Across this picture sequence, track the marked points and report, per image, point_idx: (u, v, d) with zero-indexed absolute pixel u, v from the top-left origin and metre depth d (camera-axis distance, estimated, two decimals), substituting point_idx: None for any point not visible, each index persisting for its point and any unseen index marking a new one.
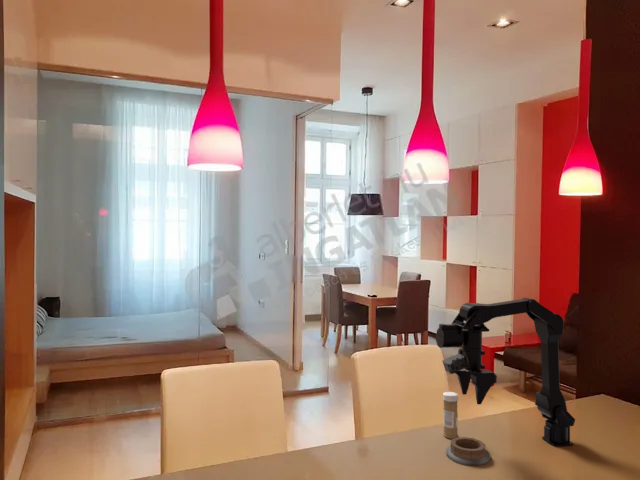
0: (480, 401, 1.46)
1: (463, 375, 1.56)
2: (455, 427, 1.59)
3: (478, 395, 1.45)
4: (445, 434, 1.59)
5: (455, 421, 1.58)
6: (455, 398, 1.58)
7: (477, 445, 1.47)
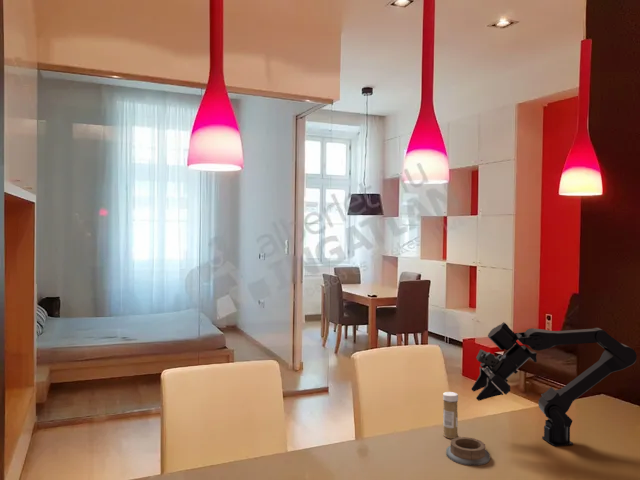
0: (480, 398, 1.54)
1: (485, 377, 1.64)
2: (455, 427, 1.59)
3: (483, 392, 1.53)
4: (445, 434, 1.59)
5: (455, 421, 1.58)
6: (455, 398, 1.58)
7: (477, 445, 1.47)
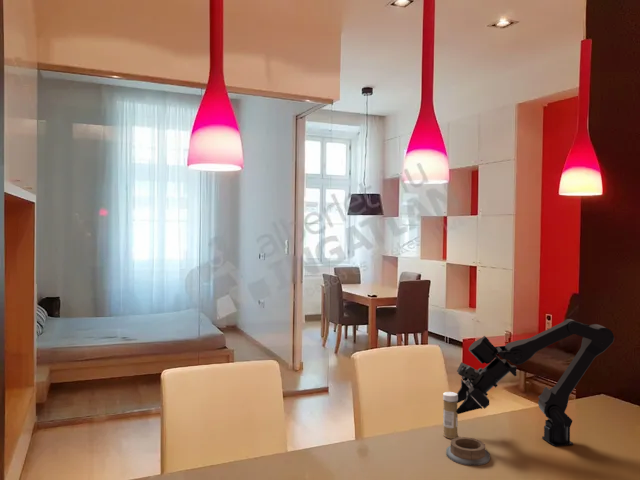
0: (459, 411, 1.55)
1: (466, 390, 1.64)
2: (455, 427, 1.59)
3: (462, 405, 1.54)
4: (445, 434, 1.59)
5: (455, 421, 1.58)
6: (455, 398, 1.58)
7: (477, 445, 1.47)
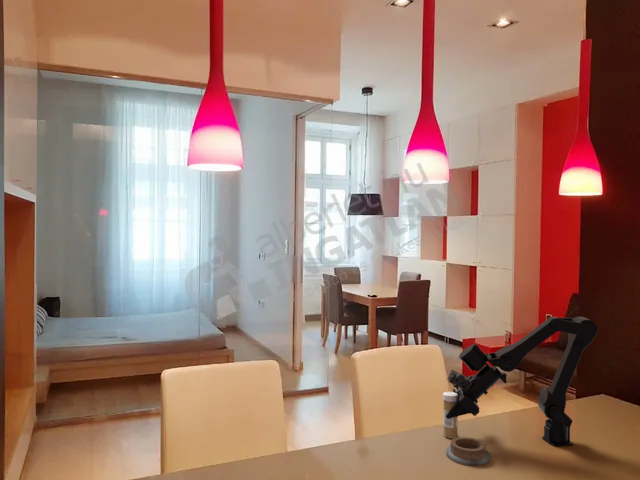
0: (449, 416, 1.58)
1: None
2: (455, 427, 1.59)
3: (452, 410, 1.57)
4: (445, 434, 1.59)
5: (455, 421, 1.58)
6: (455, 398, 1.58)
7: (477, 445, 1.47)
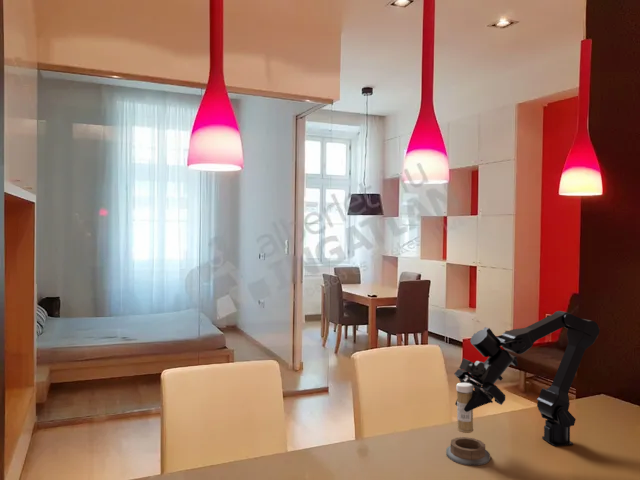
0: (468, 409, 1.45)
1: None
2: (472, 420, 1.46)
3: (471, 402, 1.44)
4: (462, 429, 1.46)
5: (472, 413, 1.46)
6: (472, 388, 1.46)
7: (477, 445, 1.47)
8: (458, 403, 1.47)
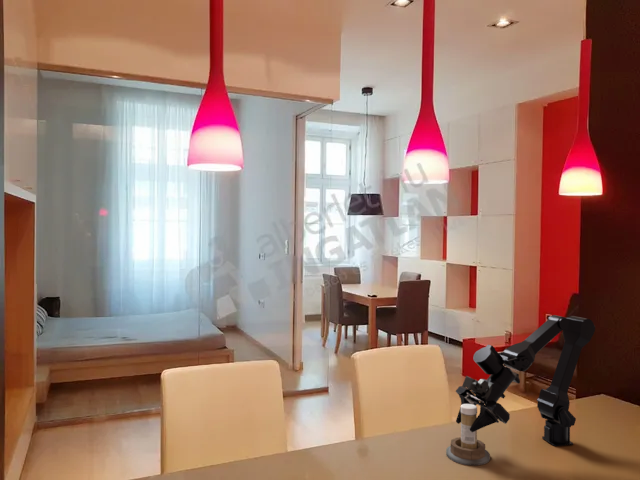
0: (474, 429, 1.42)
1: None
2: (476, 442, 1.45)
3: (477, 422, 1.42)
4: None
5: (476, 435, 1.45)
6: (476, 410, 1.44)
7: (477, 445, 1.47)
8: (462, 425, 1.45)
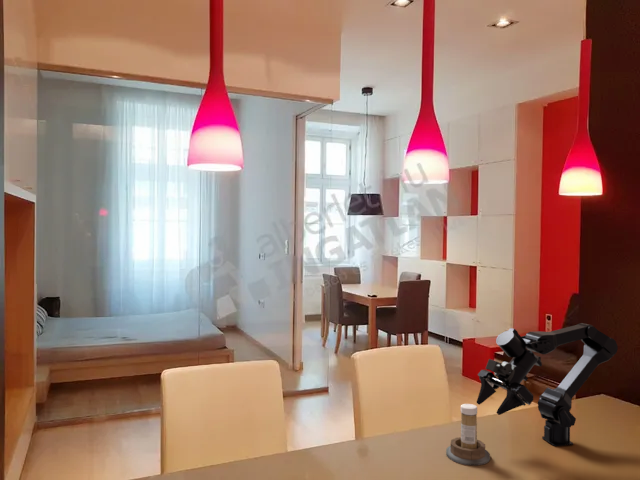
0: (501, 412, 1.43)
1: (488, 387, 1.54)
2: (476, 442, 1.45)
3: (504, 405, 1.43)
4: None
5: (476, 435, 1.45)
6: (476, 410, 1.44)
7: (477, 445, 1.47)
8: (462, 425, 1.45)
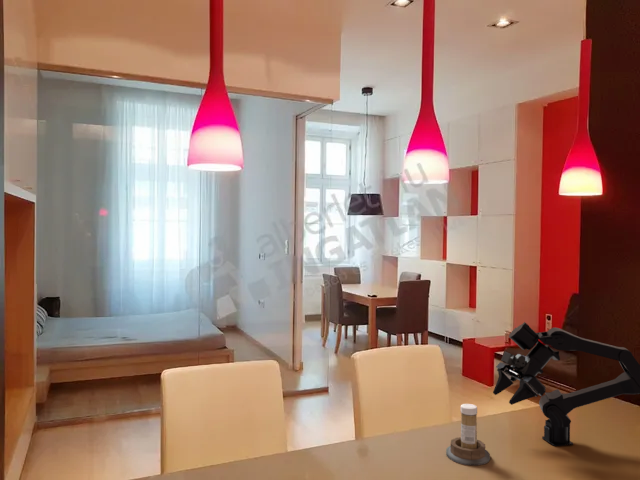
0: (513, 402, 1.50)
1: (505, 379, 1.60)
2: (476, 442, 1.45)
3: (516, 395, 1.50)
4: None
5: (476, 435, 1.45)
6: (476, 410, 1.44)
7: (477, 445, 1.47)
8: (462, 425, 1.45)
